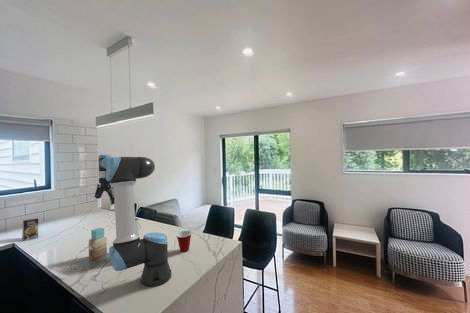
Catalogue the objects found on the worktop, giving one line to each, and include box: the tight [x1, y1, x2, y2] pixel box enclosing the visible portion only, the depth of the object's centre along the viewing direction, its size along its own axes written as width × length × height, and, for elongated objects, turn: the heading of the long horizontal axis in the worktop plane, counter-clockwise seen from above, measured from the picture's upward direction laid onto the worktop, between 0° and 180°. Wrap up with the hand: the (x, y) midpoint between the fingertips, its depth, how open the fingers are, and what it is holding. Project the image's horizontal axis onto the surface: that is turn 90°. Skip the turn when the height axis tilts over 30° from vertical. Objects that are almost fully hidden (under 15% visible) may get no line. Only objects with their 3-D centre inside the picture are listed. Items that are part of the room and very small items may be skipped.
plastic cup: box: [175, 230, 193, 253], centre depth 146 cm, size 11×11×12 cm
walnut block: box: [88, 246, 108, 261], centre depth 135 cm, size 7×7×6 cm
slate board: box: [72, 252, 111, 270], centre depth 133 cm, size 18×18×2 cm
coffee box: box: [21, 218, 39, 242], centre depth 179 cm, size 9×6×16 cm
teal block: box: [90, 227, 105, 240], centre depth 136 cm, size 5×5×6 cm
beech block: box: [88, 236, 108, 251], centre depth 135 cm, size 7×7×6 cm
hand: (105, 208), depth 145 cm, fingers open, 13 cm apart
